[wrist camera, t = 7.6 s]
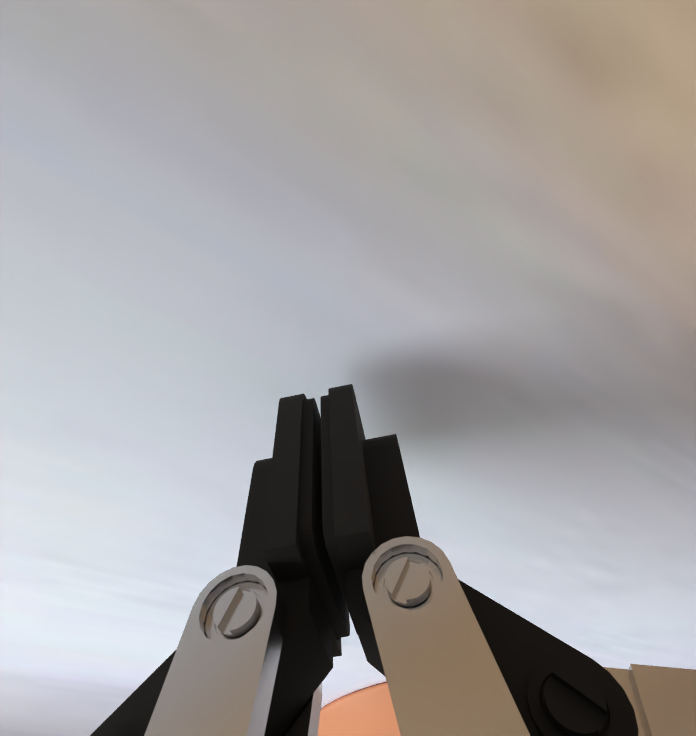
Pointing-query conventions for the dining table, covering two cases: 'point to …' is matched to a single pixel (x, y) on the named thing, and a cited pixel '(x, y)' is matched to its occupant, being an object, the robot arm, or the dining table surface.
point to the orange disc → (360, 714)
